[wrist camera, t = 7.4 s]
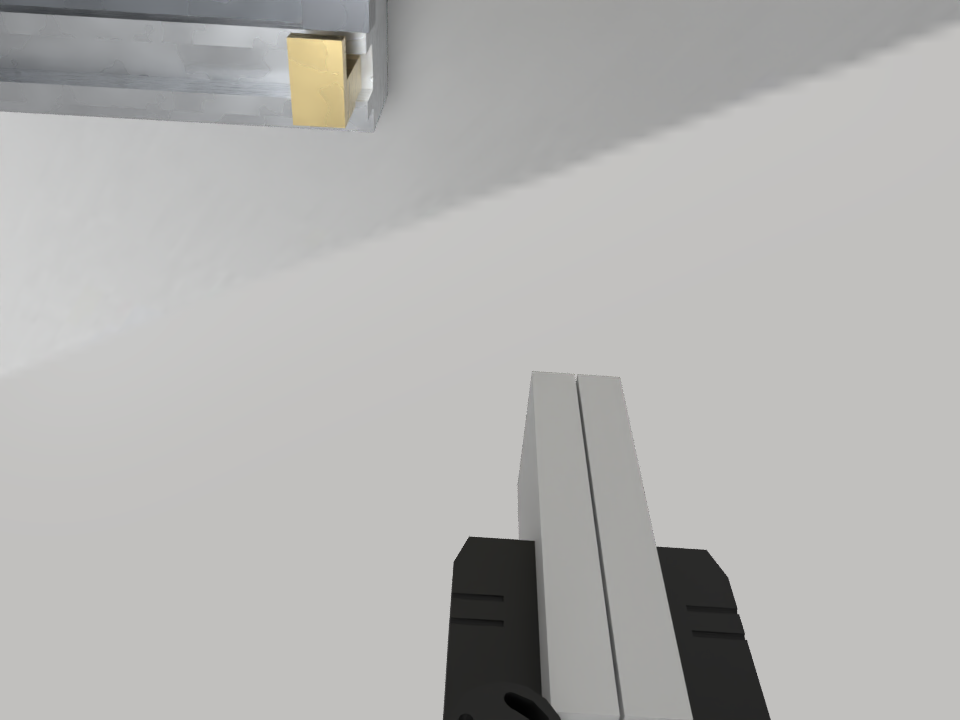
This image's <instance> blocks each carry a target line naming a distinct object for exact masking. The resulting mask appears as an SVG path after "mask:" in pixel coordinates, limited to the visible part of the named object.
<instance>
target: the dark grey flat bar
mask: <svg viewBox="0 0 960 720" xmlns="http://www.w3.org/2000/svg"><path fill="white" fill-rule="evenodd" d="M0 4H6V5H22V6H38V7H55V8H71V9H87V10H104V11H120V12H136V13H152V14H169V15H185V16H201V17H217V18H234V19H250V20H266V21H282V22H299V23H303V29H313V30H329V31H345V32H362V33H370V31H371V30H372V28H373V26H374V24H375V23H376V14H375V0H0Z"/></svg>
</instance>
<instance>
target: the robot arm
mask: <svg viewBox="0 0 960 720" xmlns="http://www.w3.org/2000/svg"><path fill="white" fill-rule="evenodd" d="M522 447H523V448H522V454H521V463H520V470H519V478H518V521H519V540H514V539H498V538H482V537H469V538H468V539H467V541H466V543H465V544H464V546H463V548H462V549H461V551H460V553H459V554H458V556H457V558H456V559H455V561H454V566H453V579H452V593H451V607H450V620H449V635H448V651H447V666H446V682H445V697H444V714H443V720H771V719H770V716H769V713H768V710H767V706H766V703H765V699H764V696H763V693H762V689H761V686H760V683H759V679H758V676H757V673H756V669H755V666H754V663H753V659H752V656H751V653H750V649H749V646H748V643H747V640H745V637H744V635H745V633H744V629H743V626H742V623H741V619H740V616H739V614H737V606H736V602H735V599H734V596H733V592H732V589H731V586H730V583H729V579H728V577H727V576H726V574H725V573H724V572H723V571H722V569H721V568H720V567H719V565H718V564H717V563H716V562H715V560H714V559H713V558H712V556H711V555H710V554H709V553H708V551H707V550H698V549H684V548H668V547H656V544H655V539H654V535H653V530H652V525H651V520H650V515H649V511H648V506H647V501H646V497H645V492H644V487H643V483H642V478H641V474H640V469H639V464H638V459H637V455H636V450H635V445H634V440H633V436H632V431H631V426H630V422H629V417H628V412H627V408H626V403H625V398H624V394H623V389H622V385H621V379H620V377H609V376H596V375H581V374H578V375H577V381H575V374H566V373H552V372H538V371H537V372H536V371H532V376H531V384H530V392H529V399H528V408H527V415H526V424H525V431H524V439H523V446H522Z"/></svg>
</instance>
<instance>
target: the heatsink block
mask: <svg viewBox="0 0 960 720" xmlns="http://www.w3.org/2000/svg"><path fill="white" fill-rule="evenodd" d="M375 14H376V23H375V24H374V26H373V28H372V30H371V31H370V33H362V32H345V31H329V30H313V29H303V23H299V22H282V21H266V20H250V19H234V18H217V17H201V16H185V15H169V14H152V13H136V12H120V11H104V10H87V9H71V8H55V7H38V6H22V5H6V4H0V111H5V112H23V113H41V114H58V115H76V116H94V117H112V118H129V119H147V120H165V121H183V122H200V123H218V124H236V125H254V126H271V127H289V128H307V129H324V130H342V131H360V132H374V131H375V128H376V125H377V122H378V120H379V117H380V114H381V111H382V109H383V106H384V103H385V100H386V98H387V95H388V66H387V0H375Z"/></svg>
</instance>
